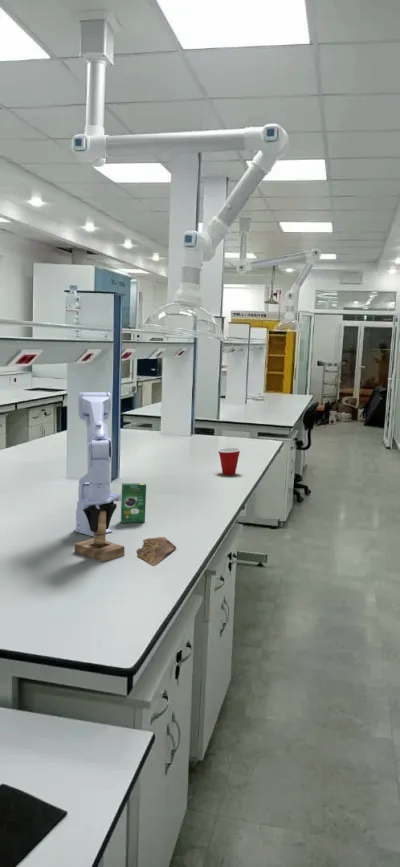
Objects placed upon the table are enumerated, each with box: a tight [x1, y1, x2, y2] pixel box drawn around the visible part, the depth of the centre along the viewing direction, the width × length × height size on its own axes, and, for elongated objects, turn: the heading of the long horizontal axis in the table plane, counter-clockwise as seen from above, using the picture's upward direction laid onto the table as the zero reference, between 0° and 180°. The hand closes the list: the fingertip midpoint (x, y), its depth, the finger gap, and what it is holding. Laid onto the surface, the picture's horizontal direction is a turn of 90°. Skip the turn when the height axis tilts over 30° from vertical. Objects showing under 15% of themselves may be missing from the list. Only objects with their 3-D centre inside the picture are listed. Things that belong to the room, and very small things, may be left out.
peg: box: [93, 510, 107, 544], centre depth 183 cm, size 4×4×9 cm
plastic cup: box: [217, 447, 242, 476], centre depth 301 cm, size 11×11×12 cm
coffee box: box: [120, 482, 147, 524], centre depth 217 cm, size 8×3×13 cm, turn 104°
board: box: [74, 537, 125, 563], centre depth 184 cm, size 12×8×2 cm, turn 50°
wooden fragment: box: [136, 536, 177, 567], centre depth 188 cm, size 26×11×1 cm, turn 175°
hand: (99, 529), depth 183 cm, fingers closed on peg, 4 cm apart
